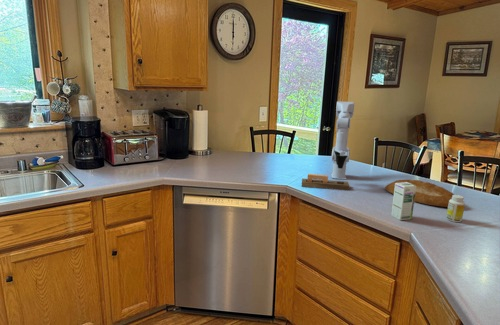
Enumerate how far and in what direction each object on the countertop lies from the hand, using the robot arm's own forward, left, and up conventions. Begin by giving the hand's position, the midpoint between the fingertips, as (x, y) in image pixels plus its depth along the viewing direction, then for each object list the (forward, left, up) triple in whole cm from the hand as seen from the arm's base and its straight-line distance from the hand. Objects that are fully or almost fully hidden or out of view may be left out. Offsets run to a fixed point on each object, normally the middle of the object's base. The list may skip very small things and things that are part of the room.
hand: (339, 166), depth 176 cm
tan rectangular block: (+4, -11, -10) cm, 16 cm away
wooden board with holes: (+4, -7, -10) cm, 13 cm away
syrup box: (+39, +22, -11) cm, 46 cm away
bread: (+12, +38, -11) cm, 42 cm away
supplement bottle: (+37, +43, -11) cm, 58 cm away
